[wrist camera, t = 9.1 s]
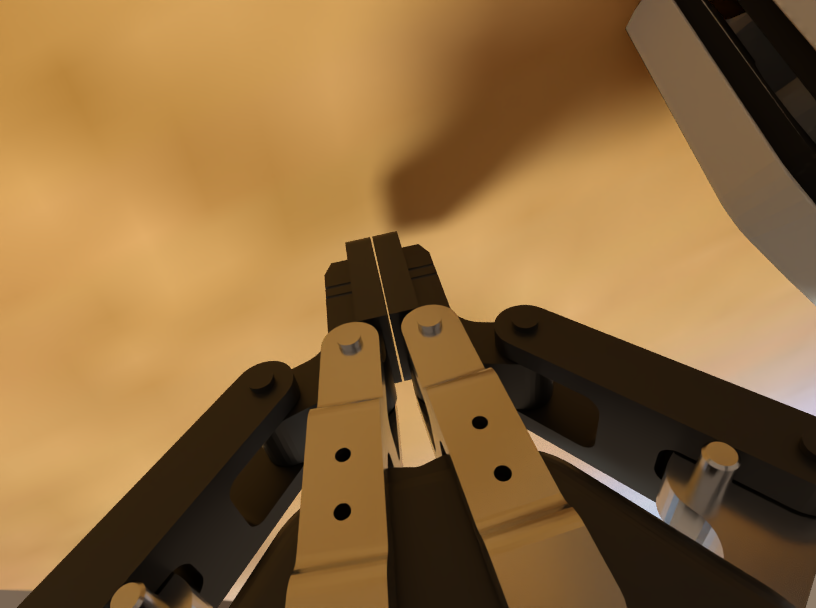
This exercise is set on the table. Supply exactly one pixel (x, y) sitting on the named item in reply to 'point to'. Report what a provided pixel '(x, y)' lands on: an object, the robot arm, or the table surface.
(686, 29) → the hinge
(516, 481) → the robot arm
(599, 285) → the table surface
